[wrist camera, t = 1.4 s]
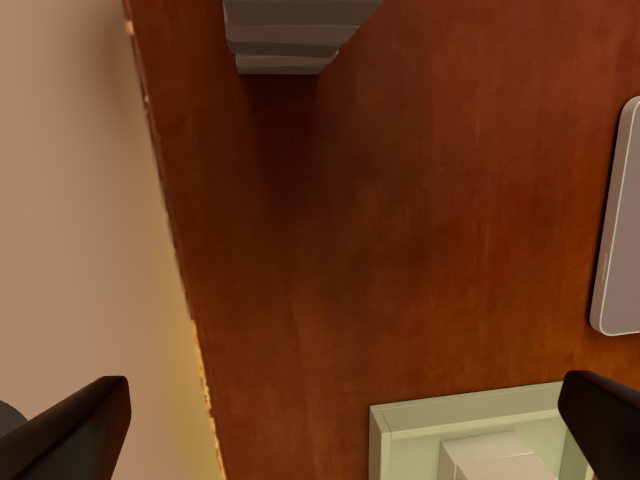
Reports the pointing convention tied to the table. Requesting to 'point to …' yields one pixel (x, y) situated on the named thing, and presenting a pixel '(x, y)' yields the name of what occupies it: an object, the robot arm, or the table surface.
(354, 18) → the grey book stack
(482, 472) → the white book stack
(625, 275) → the smartphone
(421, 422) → the tray
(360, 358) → the table surface
